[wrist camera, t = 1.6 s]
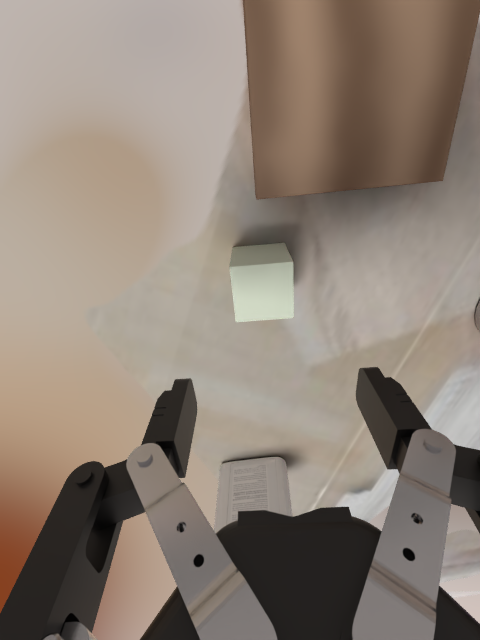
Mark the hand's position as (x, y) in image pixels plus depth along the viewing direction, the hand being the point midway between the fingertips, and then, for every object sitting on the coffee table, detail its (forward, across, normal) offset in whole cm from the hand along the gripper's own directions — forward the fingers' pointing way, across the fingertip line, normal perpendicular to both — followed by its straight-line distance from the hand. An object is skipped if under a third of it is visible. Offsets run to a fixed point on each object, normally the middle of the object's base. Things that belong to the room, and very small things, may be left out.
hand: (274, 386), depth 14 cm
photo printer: (+17, +3, +31) cm, 36 cm away
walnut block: (+18, -7, -14) cm, 24 cm away
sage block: (+17, 0, 0) cm, 17 cm away
